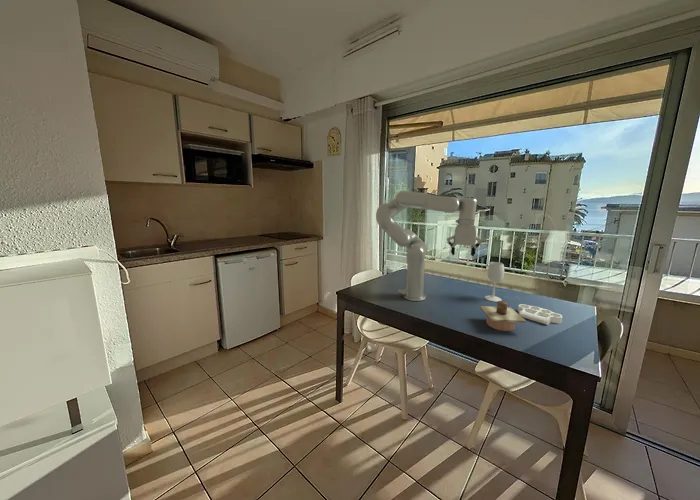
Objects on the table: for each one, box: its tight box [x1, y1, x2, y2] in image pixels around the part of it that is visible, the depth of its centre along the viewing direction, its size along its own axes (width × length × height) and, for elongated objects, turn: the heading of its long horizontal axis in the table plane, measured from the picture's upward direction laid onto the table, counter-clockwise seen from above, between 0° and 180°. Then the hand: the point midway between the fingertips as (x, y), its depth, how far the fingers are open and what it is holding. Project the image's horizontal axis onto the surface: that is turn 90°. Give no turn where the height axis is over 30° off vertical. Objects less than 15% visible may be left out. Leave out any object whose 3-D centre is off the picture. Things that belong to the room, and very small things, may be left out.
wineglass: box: [484, 261, 505, 303], centre depth 149 cm, size 9×9×21 cm
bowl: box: [486, 316, 516, 332], centre depth 121 cm, size 11×11×5 cm
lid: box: [479, 300, 527, 323], centre depth 120 cm, size 14×14×6 cm
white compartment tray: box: [517, 303, 563, 326], centre depth 129 cm, size 3×18×15 cm
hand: (462, 255), depth 139 cm, fingers open, 9 cm apart
